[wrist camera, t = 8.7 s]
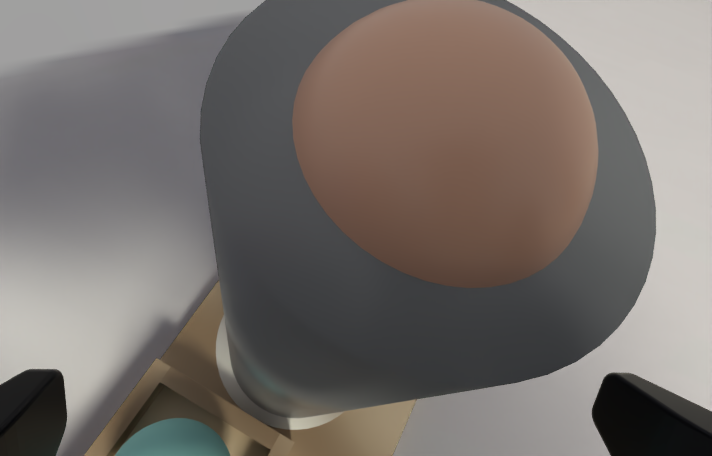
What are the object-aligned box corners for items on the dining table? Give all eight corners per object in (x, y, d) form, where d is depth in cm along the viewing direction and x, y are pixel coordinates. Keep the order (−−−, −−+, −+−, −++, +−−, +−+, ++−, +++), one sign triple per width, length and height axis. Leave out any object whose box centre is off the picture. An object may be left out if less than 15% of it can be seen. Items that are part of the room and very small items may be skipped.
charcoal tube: (337, 440, 15) (793, 497, 3) (203, 385, 14) (13, 161, 2) (382, 310, 17) (754, 1, 5) (266, 260, 17) (338, -205, 4)
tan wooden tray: (293, 669, 13) (299, 696, 11) (48, 516, 13) (25, 526, 11) (439, 338, 17) (455, 330, 16) (259, 229, 18) (261, 212, 16)
